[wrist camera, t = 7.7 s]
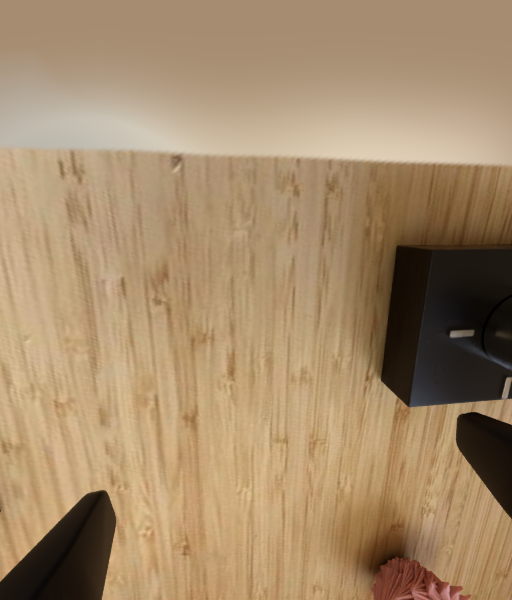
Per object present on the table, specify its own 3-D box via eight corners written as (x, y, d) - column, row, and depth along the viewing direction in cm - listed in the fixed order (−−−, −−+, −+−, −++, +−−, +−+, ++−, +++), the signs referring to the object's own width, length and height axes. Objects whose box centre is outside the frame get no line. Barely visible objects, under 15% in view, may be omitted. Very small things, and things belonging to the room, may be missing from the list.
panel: (380, 380, 20) (410, 409, 16) (396, 245, 17) (434, 249, 14) (536, 369, 21) (589, 394, 18) (570, 243, 19) (638, 247, 16)
